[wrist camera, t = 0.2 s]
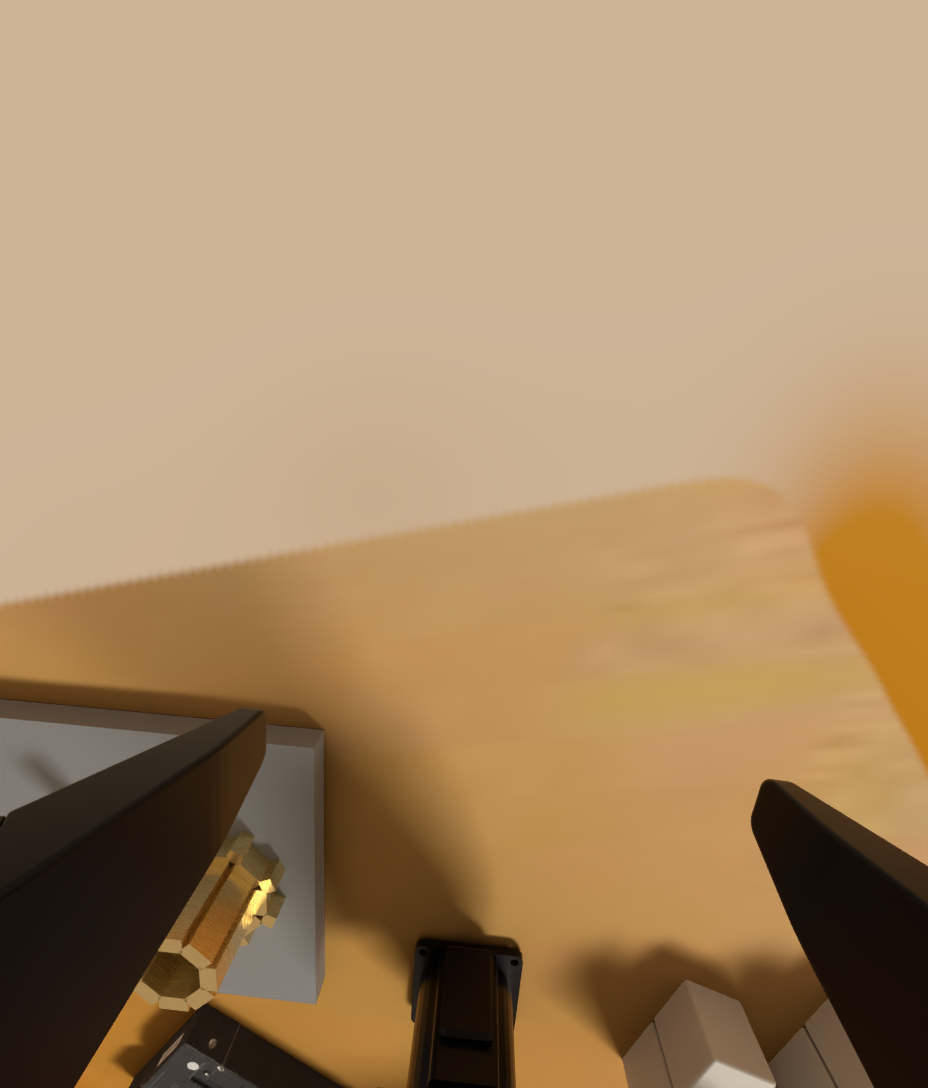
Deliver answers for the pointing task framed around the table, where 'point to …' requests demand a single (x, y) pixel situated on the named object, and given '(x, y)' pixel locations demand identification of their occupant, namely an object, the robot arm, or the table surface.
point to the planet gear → (214, 926)
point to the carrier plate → (267, 813)
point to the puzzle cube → (737, 1049)
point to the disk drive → (224, 1059)
